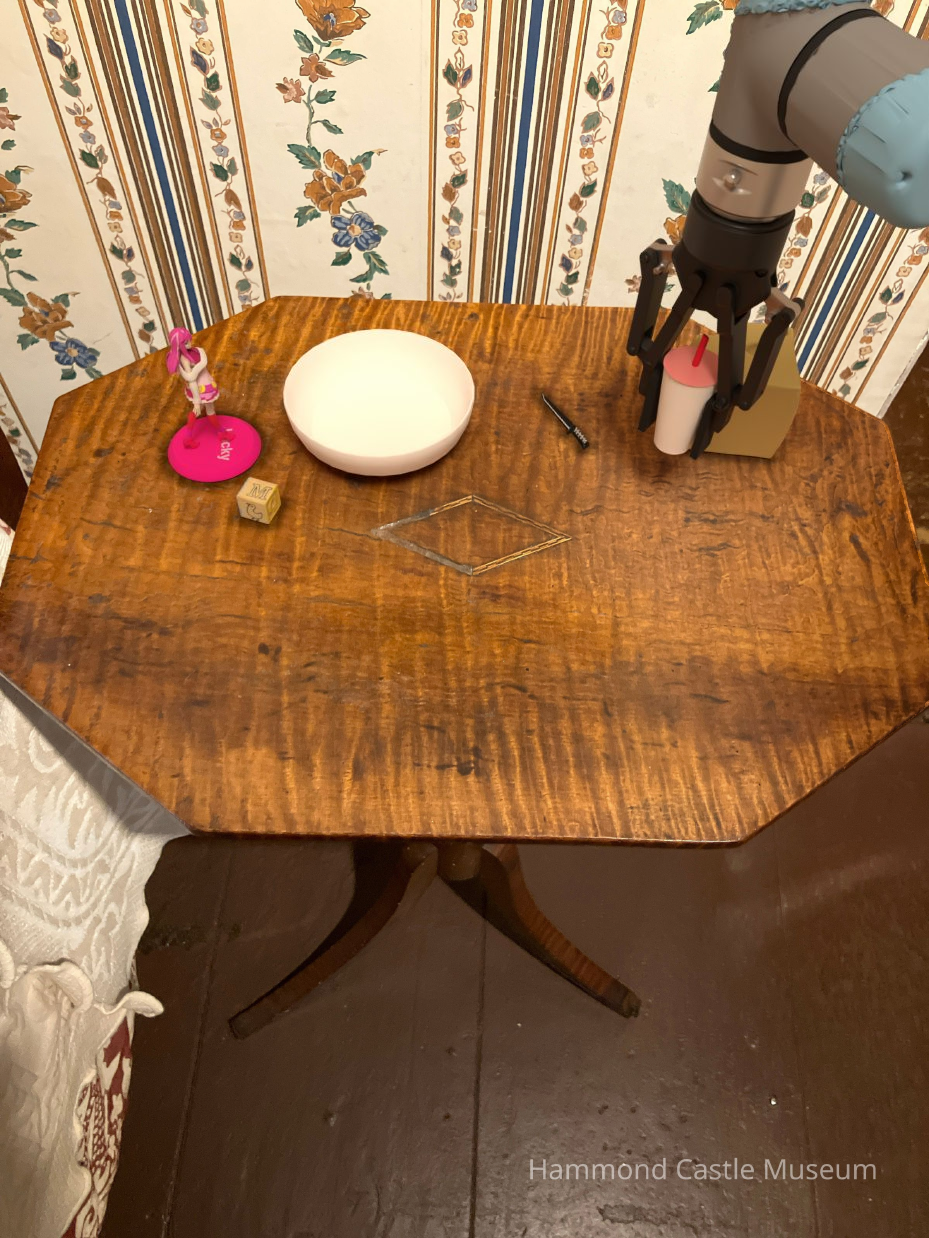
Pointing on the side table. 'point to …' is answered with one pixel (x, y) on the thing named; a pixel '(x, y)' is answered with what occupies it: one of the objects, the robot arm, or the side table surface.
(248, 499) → the alphabet block
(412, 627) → the side table surface
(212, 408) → the figurine
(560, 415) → the knife
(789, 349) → the cheese
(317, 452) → the bowl
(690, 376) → the cup
